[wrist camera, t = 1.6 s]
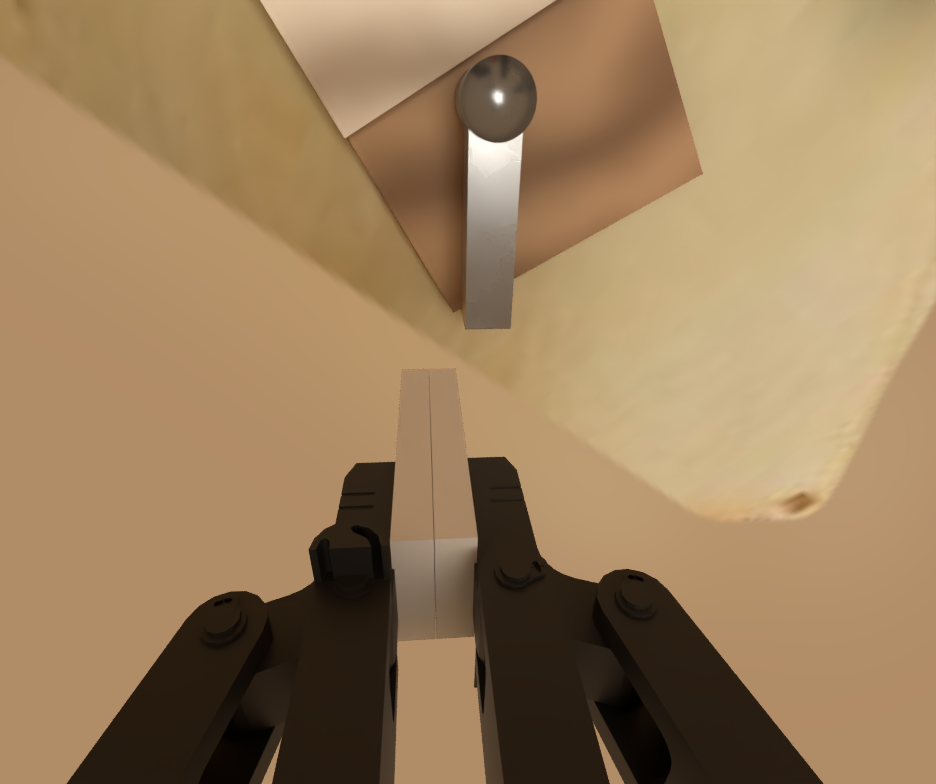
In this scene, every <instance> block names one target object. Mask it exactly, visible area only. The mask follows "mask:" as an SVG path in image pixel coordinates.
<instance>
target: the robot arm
mask: <svg viewBox="0 0 936 784" xmlns="http://www.w3.org/2000/svg"><path fill="white" fill-rule="evenodd" d="M429 391H430V398H429ZM309 554H310V560H311V565H312V570H313V576H314V582H312V583H311V584H310V585H308V586H307V587H305V588H304V589H302V590H300V591H298V592H296V593H293V594H291V595H288V596H285V597H282V598H279V599H276V600H273V601H270V602H267V603H264V602H263V601H262V600H261V598H260V597H259V596H258V595H255V594H252V593H249V592H247V591H238V592H237V591H236V592H228V593H225V594H221V595H218V596H215V597H213V598H211V599H210V600H208V601H206V602H205V603H203V604H202V605H200V606H199V607H198V608H197V609H196V610H195V611H194V612H193V613H192V614H191V615H190V616H189V617H188V618H187V619H186V620H185V622H184V623H183V625H182V626H181V627H180V629H179V630H178V631H177V633H176V634H175V635H174V637H173V638H172V640H171V641H170V642H169V644H168V645H167V646H166V648H165V649H164V651H163V652H162V653H161V655H160V656H159V657H158V659H157V660H156V662H155V663H154V664H153V666H152V667H151V668H150V670H149V671H148V673H147V674H146V675H145V677H144V678H143V680H142V681H141V682H140V684H139V685H138V686H137V688H136V689H135V691H134V692H133V693H132V695H131V696H130V698H129V699H128V700H127V701H126V703H125V704H124V706H123V707H122V708H121V710H120V711H119V712H118V714H117V715H116V717H115V718H114V719H113V721H112V722H111V723H110V725H109V726H108V728H107V729H106V730H105V732H104V733H103V734H102V736H101V737H100V739H99V740H98V741H97V743H96V744H95V745H94V747H93V748H92V750H91V751H90V752H89V754H88V755H87V756H86V758H85V759H84V761H83V762H82V763H81V765H80V766H79V768H78V769H77V770H76V772H75V773H74V775H73V776H72V777H71V778H70V780H69V781H68V783H67V784H261V783H262V781H263V778H264V776H265V774H266V772H267V769H268V767H269V765H270V763H271V760H272V758H273V756H274V753H275V751H276V749H277V746H278V744H279V742H280V740H281V738H282V740H281V744H280V749H279V754H278V758H277V763H276V768H275V772H274V777H273V782H272V784H394V773H395V745H396V743H395V741H396V715H397V688H398V687H397V686H398V661H397V640H398V641H409V640H425V639H442V638H458V637H473V636H474V633H475V643H476V657H475V681H474V687H475V688H476V687H477V688H478V699H479V711H480V721H481V732H482V743H483V752H484V764H485V775H486V784H610V783H609V780H608V776H607V772H606V769H605V765H604V761H603V758H602V754H601V750H600V747H599V743H598V740H597V736H596V732H595V729H594V725H595V727H596V729H597V731H598V732H599V734H600V736H601V738H602V740H603V742H604V744H605V746H606V748H607V750H608V752H609V754H610V756H611V758H612V760H613V762H614V764H615V766H616V768H617V770H618V771H619V774H620V775H621V777H622V779H623V781H624V783H625V784H823V782H822V781H821V780H820V779H819V778H818V776H817V775H816V774H815V773H814V771H813V770H812V769H811V768H810V766H809V765H808V764H807V763H806V761H805V760H804V759H803V758H802V756H801V755H800V754H799V753H798V751H797V750H796V749H795V748H794V746H793V745H792V744H791V743H790V741H789V740H788V739H787V738H786V736H785V735H784V734H783V733H782V731H781V730H780V729H779V728H778V726H777V725H776V724H775V723H774V722H773V720H772V719H771V718H770V716H769V715H768V714H767V713H766V711H765V710H764V709H763V708H762V706H761V705H760V704H759V703H758V701H757V700H756V699H755V698H754V696H753V695H752V694H751V693H750V691H749V690H748V689H747V688H746V687H745V685H744V684H743V683H742V682H741V680H740V679H739V678H738V676H737V675H736V674H735V673H734V672H733V670H732V669H731V668H730V667H729V665H728V664H727V663H726V662H725V660H724V659H723V658H722V657H721V655H720V654H719V653H718V652H717V651H716V649H715V648H714V647H713V645H712V644H711V643H710V642H709V640H708V639H707V638H706V637H705V635H704V634H703V633H702V632H701V630H700V629H699V628H698V627H697V626H696V624H695V623H694V622H693V620H692V619H691V618H690V617H689V615H688V614H687V613H686V612H685V610H684V609H683V608H682V607H681V605H680V604H679V603H678V602H677V600H676V599H675V598H674V597H673V595H672V594H671V593H670V592H669V590H667V588H665V587H664V586H663V585H662V584H661V583H660V582H659V581H658V580H657V579H655V578H653V577H651V576H649V575H647V574H645V573H643V572H640V571H635V570H630V569H622V570H614V571H612V572H610V573H609V574H606V575H604V576H603V578H602V579H601V581H600V582H599V583H594V582H589V581H585V580H581V579H576V578H573V577H570V576H567V575H564V574H562V573H560V572H558V571H556V570H555V569H553V568H552V567H551V566H550V565H548V564H547V562H546V560H545V559H544V558H542V557H541V555H540V553H539V551H538V549H537V545H536V542H535V538H534V534H533V530H532V526H531V523H530V519H529V515H528V511H527V507H526V504H525V501H524V496H523V493H522V489H521V484H520V481H519V477H518V473H517V470H516V469H515V468H514V466H513V465H512V464H511V463H510V462H509V461H508V460H507V459H506V458H505V457H486V458H485V457H484V458H467V452H466V444H465V437H464V430H463V422H462V414H461V406H460V399H459V392H458V384H457V376H456V369H413V370H402V375H401V390H400V404H399V419H398V434H397V448H396V461H395V462H379V463H356V464H355V466H354V467H353V468H352V469H351V471H350V472H349V473H348V474H347V475H346V477H345V479H344V484H343V489H342V497H341V499H340V504H339V510H338V514H337V519H336V524H334V525H332V526H330V527H328V528H326V529H324V530H323V531H322V532H321V533H320V534H319V535H318V536H317V537H315V538H314V540H313V542H312V544H311V546H310V548H309ZM435 611H436V628H435ZM593 723H594V725H593Z"/></svg>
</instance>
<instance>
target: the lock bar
mask: <svg viewBox="0 0 936 784" xmlns="http://www.w3.org/2000/svg"><path fill="white" fill-rule="evenodd" d="M536 105H537V90H536V85H535V82H534V79H533V77H532V75H531V73H530V71H529V70H528V68H527V67H526V66H525V65H524V64H523V63H522V62H520V61H519V60H517V59H516V58H514V57H511V56H508V55H493V56H489V57H487V58H485V59H483V60H481V61H479V62H478V63H477V64H475V65H474V66H472V67H471V68H469V69H468V70H467V71H466V72H465V73H464V74H463V75H462V76H461V78H460V80H459V81H458V84H457V86H456V89H455V94H454V106H455V111H456V114H457V117H458V119H459V120H460V122H461V124H462V125H463V126H464V146H463V222H462V297H461V310H462V315H463V320H464V325H465V329H510V327H511V311H512V296H513V280H514V265H515V249H516V233H517V218H518V202H519V187H520V171H521V156H522V140H523V132H524V131H525V129H526V128H527V127H528V126H529V124H530V122H531V120H532V118H533V116H534V113H535V110H536Z"/></svg>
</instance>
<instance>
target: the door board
mask: <svg viewBox="0 0 936 784" xmlns="http://www.w3.org/2000/svg"><path fill="white" fill-rule="evenodd" d="M260 1H261V3H262V4H263V6H264V7H265V9H266V11H267V12H268V14H269V16H270V17H271V19H272V21H273V22H274V24H275V26H276V27H277V29H278V30H279V32H280V34H281V35H282V37H283V39H284V40H285V42H286V44H287V45H288V47H289V48H290V50H291V52H292V53H293V55H294V57H295V58H296V60H297V62H298V63H299V65H300V66H301V68H302V70H303V71H304V73H305V75H306V76H307V78H308V80H309V81H310V83H311V84H312V86H313V88H314V89H315V91H316V93H317V94H318V96H319V98H320V99H321V101H322V102H323V104H324V106H325V107H326V109H327V111H328V112H329V114H330V116H331V117H332V119H333V120H334V122H335V124H336V125H337V127H338V129H339V130H340V132H341V134H342V135H343V137H344V138H348V140H349V141H350V143H351V145H352V146H353V148H354V150H355V151H356V153H357V155H358V156H359V158H360V159H361V161H362V163H363V164H364V166H365V168H366V169H367V171H368V173H369V174H370V176H371V178H372V179H373V181H374V183H375V184H376V186H377V187H378V189H379V191H380V192H381V194H382V196H383V197H384V199H385V201H386V202H387V204H388V206H389V207H390V209H391V210H392V212H393V214H394V215H395V217H396V219H397V220H398V222H399V224H400V225H401V227H402V229H403V230H404V232H405V234H406V235H407V237H408V238H409V240H410V242H411V243H412V245H413V247H414V248H415V250H416V252H417V253H418V255H419V257H420V258H421V260H422V261H423V263H424V265H425V266H426V268H427V270H428V271H429V273H430V275H431V276H432V278H433V280H434V281H435V283H436V285H437V286H438V288H439V289H440V291H441V293H442V294H443V296H444V298H445V299H446V301H447V303H448V304H449V306H450V308H451V309H452V311H453V312H455V311H457V310H459V309H460V308H461V297H462V222H463V146H464V126H463V125H462V124H461V122H460V120H459V119H458V117H457V114H456V111H455V106H454V94H455V89H456V86H457V84H458V81H459V80H460V78H461V76H462V75H463V74H464V73H465V72H466V71H467V70H468V69H469V68H471V67H472V66H474V65H475V64H477V63H478V62H479V61H481V60H483V59H485V58H487V57H489V56H493V55H508V56H511V57H514V58H516V59H517V60H519V61H520V62H522V63H523V64H524V65H525V66H526V67H527V68H528V70H529V71H530V73H531V75H532V77H533V79H534V82H535V85H536V90H537V105H536V110H535V113H534V116H533V118H532V120H531V122H530V124H529V126H528V127H527V128H526V129H525V131H524V132H523V140H522V156H521V171H520V187H519V202H518V218H517V233H516V249H515V265H514V278H516V277H518V276H520V275H522V274H523V273H525V272H527V271H529V270H531V269H532V268H534V267H536V266H538V265H540V264H541V263H543V262H545V261H547V260H548V259H550V258H552V257H554V256H556V255H557V254H559V253H561V252H563V251H565V250H566V249H568V248H570V247H572V246H574V245H575V244H577V243H579V242H581V241H583V240H584V239H586V238H588V237H590V236H592V235H593V234H595V233H597V232H599V231H601V230H602V229H604V228H606V227H608V226H610V225H611V224H613V223H615V222H617V221H619V220H620V219H622V218H624V217H626V216H628V215H629V214H631V213H633V212H635V211H636V210H638V209H640V208H642V207H644V206H645V205H647V204H649V203H651V202H653V201H654V200H656V199H658V198H660V197H662V196H663V195H665V194H667V193H669V192H671V191H672V190H674V189H676V188H678V187H680V186H681V185H683V184H685V183H687V182H689V181H690V180H692V179H694V178H696V177H698V176H699V175H701V174H703V173H702V170H701V166H700V163H699V159H698V155H697V152H696V148H695V145H694V141H693V138H692V134H691V131H690V127H689V124H688V120H687V117H686V113H685V110H684V106H683V103H682V99H681V96H680V92H679V89H678V85H677V82H676V78H675V75H674V71H673V68H672V64H671V60H670V57H669V53H668V50H667V46H666V43H665V39H664V36H663V32H662V29H661V25H660V22H659V18H658V15H657V11H656V8H655V4H654V1H653V0H260Z"/></svg>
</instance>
